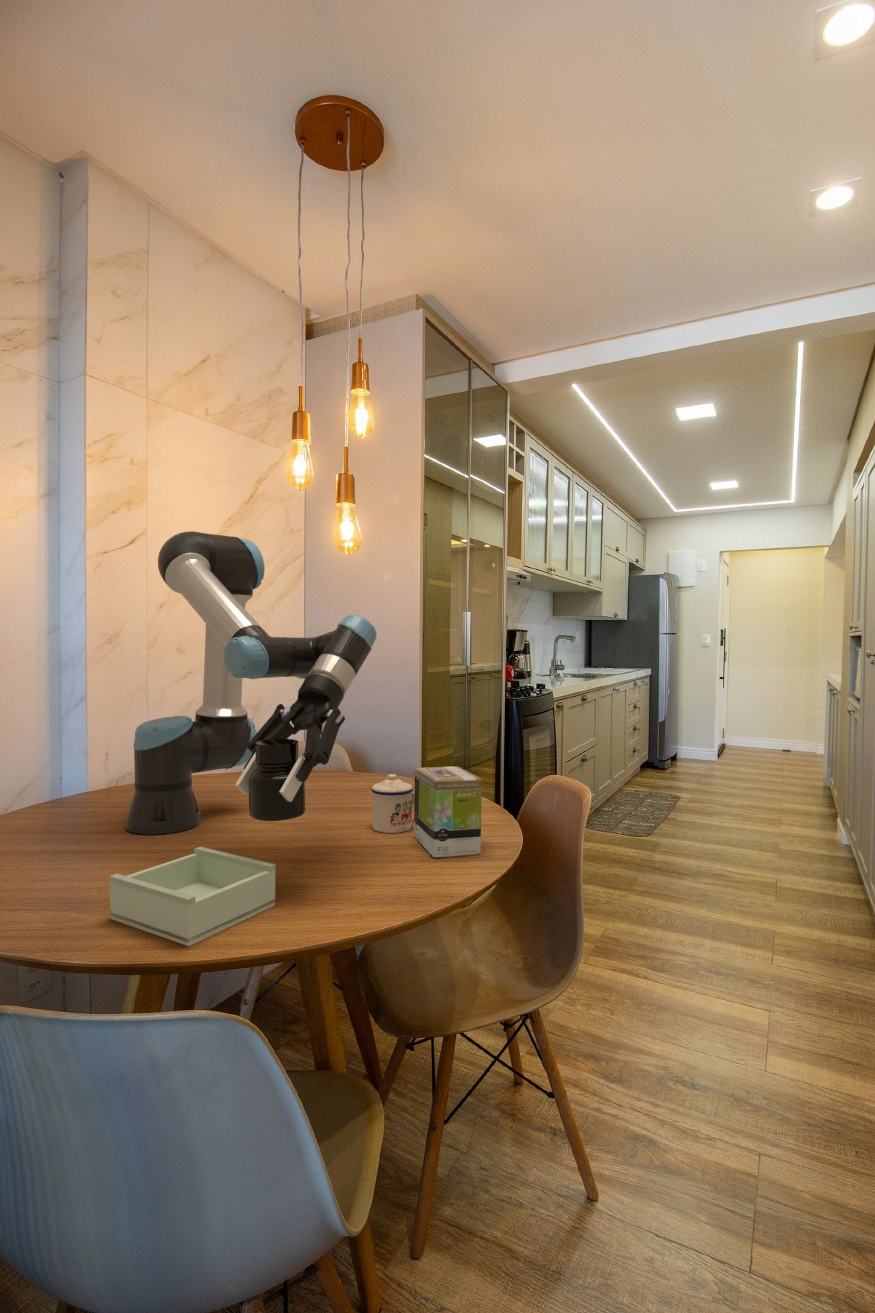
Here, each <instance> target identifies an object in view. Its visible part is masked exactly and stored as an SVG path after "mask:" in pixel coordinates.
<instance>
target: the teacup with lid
mask: <svg viewBox="0 0 875 1313" xmlns="http://www.w3.org/2000/svg"><path fill="white" fill-rule="evenodd" d="M371 794H372V796H371V797H372V798H371V799H372V801H371V804H372V808H371V809H372V810H371V813H372V814H371V815H372V818H371V820H372V821H371V822H372V823H371V824H372V825H371V826H372V830H374V831H376V832H378V833H385V834H397V833H404V832H407V831H409V830H410V829H412V828H413V809H414V794H415V791H414V787H413V785H412V784H411V783H407V782H404V781H403V780H401V779H399V778H398V776H397V774H394V773H393V774H392V773H390V774H388V775H387V778H386V779H384V780H382V781H380V782H377V783H375V784H373V785H372V787H371Z"/></svg>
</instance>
